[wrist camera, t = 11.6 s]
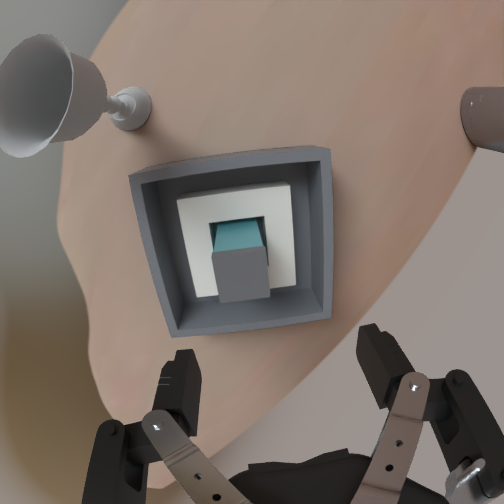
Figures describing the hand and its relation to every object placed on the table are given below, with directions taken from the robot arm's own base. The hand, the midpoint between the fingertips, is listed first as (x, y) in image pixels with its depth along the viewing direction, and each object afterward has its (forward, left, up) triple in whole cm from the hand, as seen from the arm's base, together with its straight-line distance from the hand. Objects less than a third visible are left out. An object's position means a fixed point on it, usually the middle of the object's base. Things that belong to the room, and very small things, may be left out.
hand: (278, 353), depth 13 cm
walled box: (+2, +1, -21) cm, 21 cm away
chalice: (+12, -15, -21) cm, 28 cm away
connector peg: (+2, +1, -20) cm, 20 cm away
